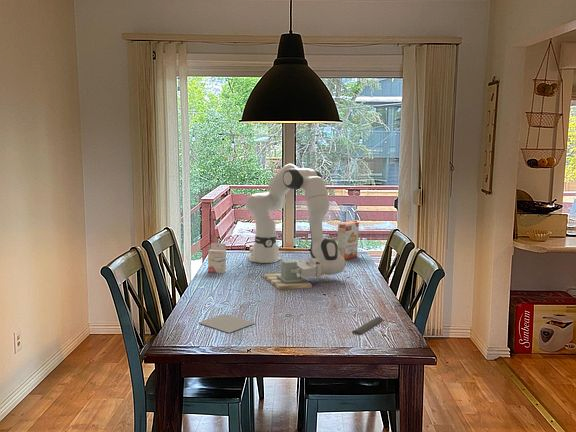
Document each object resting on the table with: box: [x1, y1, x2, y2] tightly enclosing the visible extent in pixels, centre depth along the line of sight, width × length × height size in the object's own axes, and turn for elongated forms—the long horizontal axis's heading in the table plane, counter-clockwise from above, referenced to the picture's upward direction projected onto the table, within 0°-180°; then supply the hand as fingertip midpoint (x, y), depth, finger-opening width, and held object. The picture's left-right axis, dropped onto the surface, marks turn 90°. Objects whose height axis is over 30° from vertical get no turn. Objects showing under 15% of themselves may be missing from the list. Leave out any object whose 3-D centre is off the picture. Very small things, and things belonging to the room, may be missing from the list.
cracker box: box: [337, 220, 360, 261], centre depth 329 cm, size 14×6×21 cm, turn 141°
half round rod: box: [351, 316, 385, 335], centre depth 212 cm, size 4×20×2 cm, turn 145°
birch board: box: [262, 271, 313, 291], centre depth 274 cm, size 26×16×2 cm, turn 20°
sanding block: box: [277, 258, 301, 284], centre depth 271 cm, size 12×8×9 cm, turn 20°
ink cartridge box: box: [207, 242, 227, 274], centre depth 291 cm, size 9×5×15 cm, turn 84°
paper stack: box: [197, 313, 255, 334], centre depth 214 cm, size 23×25×1 cm
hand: (287, 269), depth 270 cm, fingers closed on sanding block, 6 cm apart
